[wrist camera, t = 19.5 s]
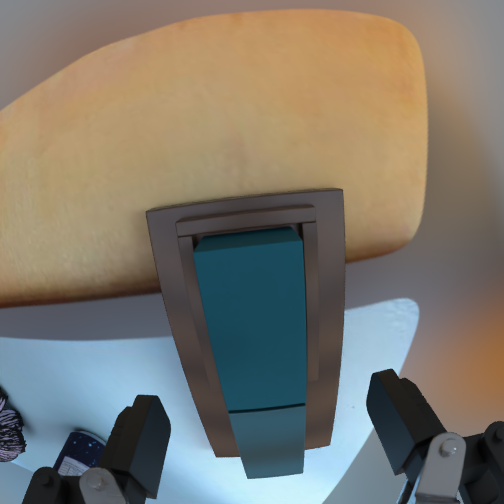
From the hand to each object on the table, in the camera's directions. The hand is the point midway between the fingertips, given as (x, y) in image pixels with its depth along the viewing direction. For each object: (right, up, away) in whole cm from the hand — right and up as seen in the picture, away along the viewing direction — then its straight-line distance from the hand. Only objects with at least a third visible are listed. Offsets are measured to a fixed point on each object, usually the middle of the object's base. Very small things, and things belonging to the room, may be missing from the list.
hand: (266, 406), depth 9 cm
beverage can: (-19, -17, +14) cm, 29 cm away
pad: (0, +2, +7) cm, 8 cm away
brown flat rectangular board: (0, -2, +10) cm, 10 cm away
